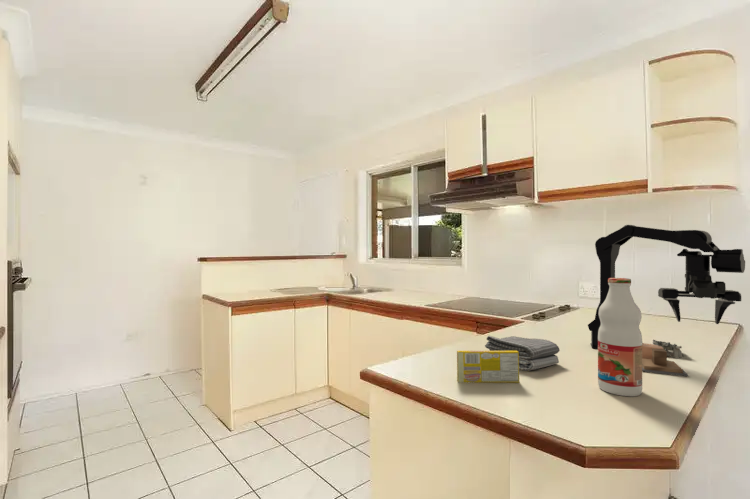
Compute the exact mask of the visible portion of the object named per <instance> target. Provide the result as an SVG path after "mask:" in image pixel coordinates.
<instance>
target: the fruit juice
mask: <svg viewBox="0 0 750 499" xmlns="http://www.w3.org/2000/svg"><path fill="white" fill-rule="evenodd" d="M608 285H609V291H608V294H607V297H606V299H605V301H604V302H603V304H602V305H601V306H600V308H599V318H600V322H601V325H600V327H599V330H598V349H597V385H598V387H599V389H600V390H602V391H604V392H606V393H609V394H612V395H616V396H623V397H638V396H640V395H642V392H643V372H642V343H643V335H642V332H641V329H640V325H641V321H642V311H641V309H640V308H639V306H638V305H637V303H636V302H635V300H634V298H633V295H632V292H631V288H630V287H631V285H632V279H631V278H625V277H615V278H608Z"/></svg>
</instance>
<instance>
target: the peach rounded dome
mask: <svg viewBox="0 0 750 499" xmlns="http://www.w3.org/2000/svg"><path fill="white" fill-rule="evenodd" d="M652 348H654V349H663V347H661V346H658V345H653V343H645V342H644V343H643V342H642V358H644V359H652Z"/></svg>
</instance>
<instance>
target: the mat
mask: <svg viewBox="0 0 750 499" xmlns="http://www.w3.org/2000/svg"><path fill="white" fill-rule="evenodd" d="M681 369H682V370H683V373H674V372H665V371H656V370H646V369H644V368H643V367H642V371H645V372H644V373H650V372H653V373H652V374H660V373H661V375H669V374H672V375H671V376H678V375H684V376H683V377H687V376H688V377H689V374H688V373H687V372H686V371H685V370H684V369H683V368H681Z"/></svg>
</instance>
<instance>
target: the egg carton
mask: <svg viewBox="0 0 750 499" xmlns="http://www.w3.org/2000/svg"><path fill="white" fill-rule="evenodd" d="M652 344H653V345H658V346H661V347H663V349H664V350H665V351H666V352H667V357H673V358H682V355H683V352H682V350H681V349H682V348H683V347H682V345H678V344H676V343H673V344H672V343H671V342H669V341H668V342H666V341H661V340H656V339H653V340H652Z"/></svg>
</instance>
